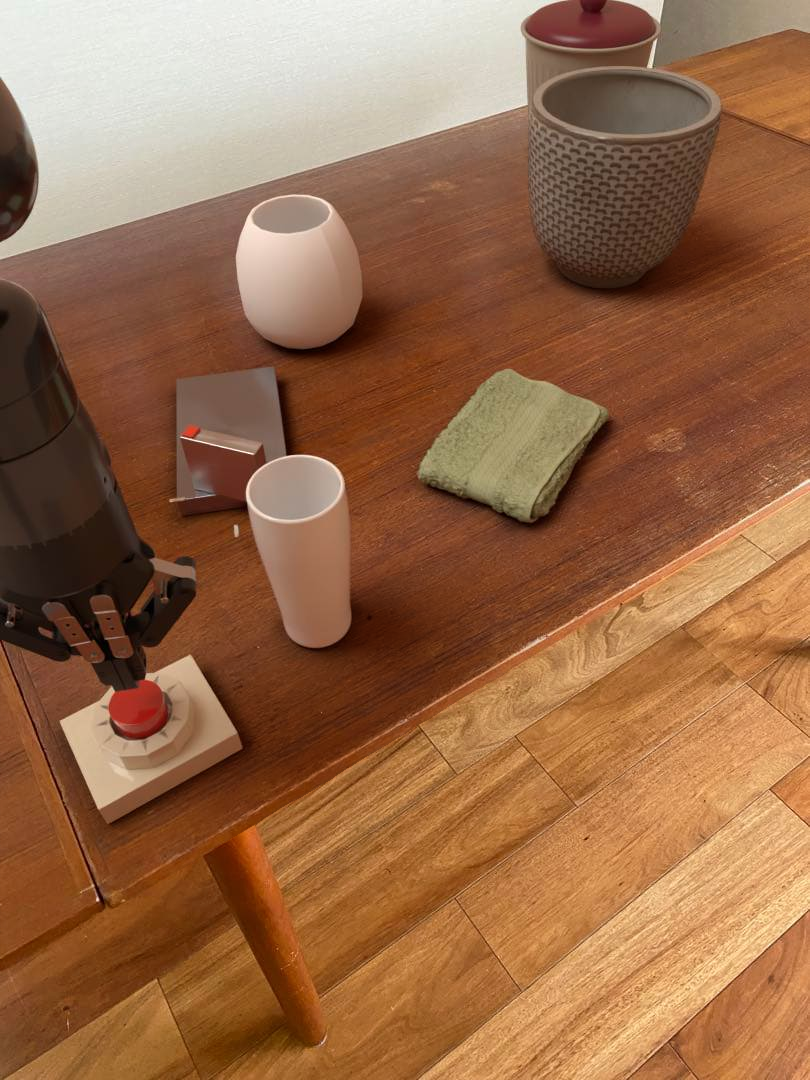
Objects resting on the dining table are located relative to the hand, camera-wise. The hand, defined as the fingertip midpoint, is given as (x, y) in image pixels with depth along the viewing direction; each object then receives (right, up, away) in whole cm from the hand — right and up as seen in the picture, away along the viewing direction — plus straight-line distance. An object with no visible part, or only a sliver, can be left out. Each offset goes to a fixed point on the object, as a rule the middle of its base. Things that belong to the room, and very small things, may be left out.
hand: (128, 678), depth 56 cm
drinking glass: (+11, +2, +13) cm, 17 cm away
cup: (+7, +32, +41) cm, 53 cm away
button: (0, -3, +3) cm, 4 cm away
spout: (+3, +13, +20) cm, 24 cm away
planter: (+41, +42, +48) cm, 76 cm away
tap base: (+2, +16, +26) cm, 31 cm away
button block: (0, -5, +6) cm, 8 cm away
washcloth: (+28, +17, +26) cm, 42 cm away
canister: (+43, +65, +69) cm, 104 cm away
